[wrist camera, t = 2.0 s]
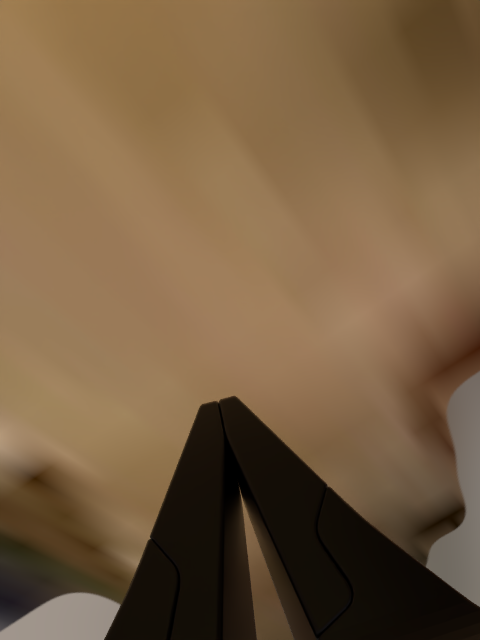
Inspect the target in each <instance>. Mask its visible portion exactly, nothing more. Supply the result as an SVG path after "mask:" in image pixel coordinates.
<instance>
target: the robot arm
mask: <svg viewBox="0 0 480 640" xmlns="http://www.w3.org/2000/svg"><path fill="white" fill-rule="evenodd" d="M239 487H240V489H239ZM240 491H241V494H240ZM241 495H242V498H243V501H244V504H245V507H246V509H247V512H248V515H249V518H250V520H251V523H252V526H253V528H254V531H255V534H256V537H257V539H258V542H259V545H260V547H261V550H262V553H263V556H264V558H265V561H266V564H267V567H268V569H269V572H270V575H271V577H272V580H273V583H274V586H275V588H276V591H277V594H278V596H279V599H280V602H281V605H282V607H283V610H284V613H285V615H286V618H287V621H288V624H289V626H290V629H291V632H292V635H293V637H294V640H480V607H479V606H477V605H476V604H474V603H473V602H471V601H470V600H468V599H467V598H466V597H464V596H463V595H462V594H460V593H459V592H458V591H456V590H455V589H454V588H452V587H451V586H450V585H448V584H447V583H446V582H445V581H443V580H442V579H441V578H439V577H438V576H437V575H435V574H434V573H433V572H432V571H430V570H429V569H428V568H426V567H425V566H424V565H422V564H421V563H420V562H419V561H417V560H416V559H415V558H413V557H412V556H411V555H409V554H408V553H407V552H406V551H404V550H403V549H402V548H400V547H399V546H398V545H396V544H395V543H394V542H393V541H391V540H390V539H389V538H387V537H386V536H385V535H384V534H382V533H381V532H380V531H379V530H378V529H376V528H375V527H374V526H373V525H371V524H370V523H369V522H368V521H366V520H365V519H364V518H363V517H362V516H361V515H360V514H358V513H357V512H356V511H355V510H354V509H353V508H352V507H351V506H350V505H349V504H347V503H346V502H345V501H344V500H343V499H342V498H341V497H340V496H339V495H338V494H337V493H336V492H335V491H334V490H333V489H332V488H331V487H328V486H327V484H326V483H325V482H324V481H323V480H322V479H321V478H320V477H319V476H318V475H317V474H316V473H315V472H314V471H313V470H312V469H311V468H310V467H309V466H308V465H307V464H306V463H305V462H304V461H303V460H301V459H300V458H299V457H298V456H297V455H296V454H295V453H294V452H293V451H292V450H291V449H290V448H289V447H288V446H287V445H286V444H285V443H284V442H283V441H282V440H281V439H280V438H279V437H278V436H277V435H276V434H275V433H274V432H273V431H272V430H270V429H269V428H268V427H267V426H266V425H265V424H264V423H263V422H262V421H261V420H260V419H259V418H258V417H257V416H256V415H255V414H254V413H253V412H252V411H251V410H250V409H249V408H248V407H247V406H246V405H245V404H244V403H243V402H242V401H241V400H239V399H238V398H237V397H236V396H232V397H228V398H224V399H221V400H220V401H219V403H218V402H217V401H213V402H209V403H205V404H202V405H201V406H200V408H199V410H198V413H197V415H196V418H195V420H194V423H193V426H192V428H191V431H190V433H189V436H188V439H187V441H186V444H185V446H184V449H183V452H182V454H181V457H180V459H179V462H178V465H177V467H176V470H175V472H174V475H173V478H172V480H171V483H170V485H169V488H168V491H167V493H166V496H165V498H164V501H163V504H162V506H161V509H160V511H159V514H158V517H157V519H156V522H155V524H154V527H153V530H152V532H151V535H150V538H151V539H149V540H148V542H147V545H146V547H145V550H144V552H143V555H142V558H141V560H140V563H139V565H138V567H137V570H136V572H135V575H134V577H133V579H132V582H131V584H130V587H129V589H128V591H127V593H126V596H125V598H124V600H123V602H122V604H121V606H120V608H119V610H118V612H117V614H116V617H115V619H114V621H113V623H112V625H111V627H110V629H109V631H108V633H107V635H106V637H105V639H104V640H257V638H256V629H255V619H254V610H253V601H252V592H251V582H250V573H249V564H248V555H247V545H246V536H245V527H244V517H243V508H242V501H241Z"/></svg>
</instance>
